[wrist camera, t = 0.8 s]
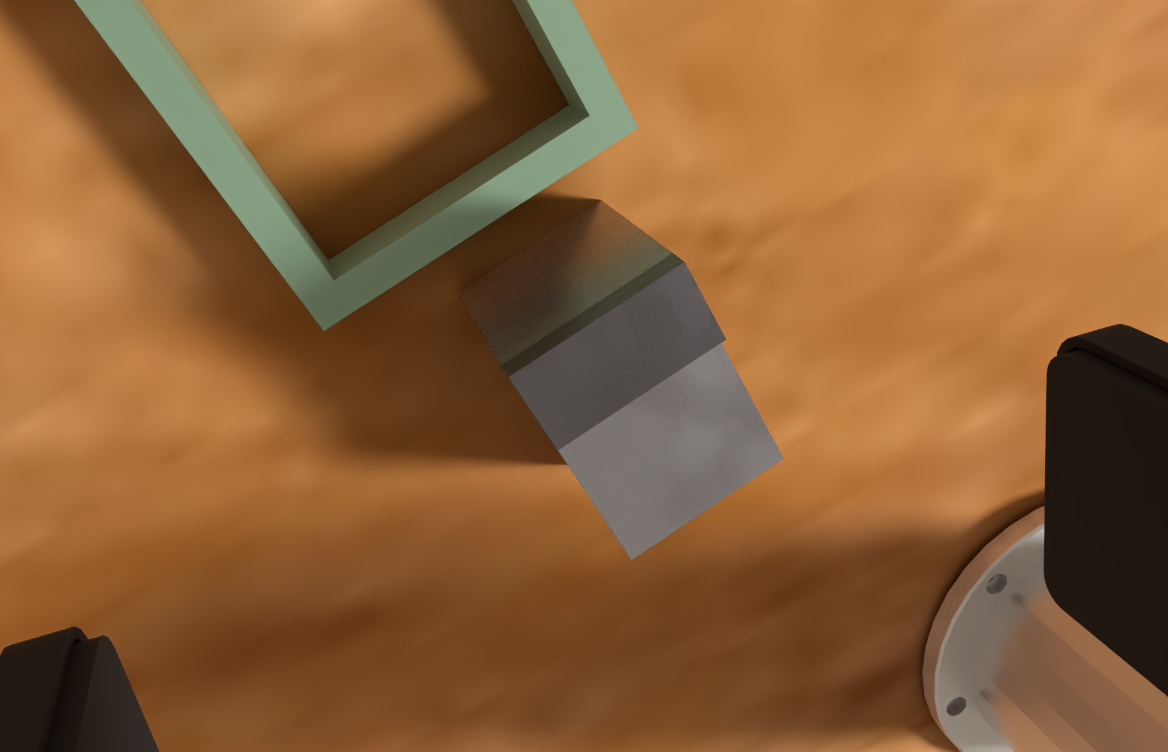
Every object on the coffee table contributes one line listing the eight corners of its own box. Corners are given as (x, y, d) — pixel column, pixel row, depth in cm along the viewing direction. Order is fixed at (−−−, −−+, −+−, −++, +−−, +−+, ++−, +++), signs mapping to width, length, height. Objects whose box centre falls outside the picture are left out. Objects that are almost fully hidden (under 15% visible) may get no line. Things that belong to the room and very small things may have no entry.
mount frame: (615, 116, 31) (653, 134, 28) (318, 308, 30) (327, 346, 28) (404, -282, 26) (423, -308, 23) (44, -59, 25) (20, -58, 23)
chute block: (700, 378, 35) (796, 471, 29) (571, 464, 35) (641, 575, 29) (600, 199, 32) (684, 262, 26) (456, 292, 32) (508, 377, 26)
